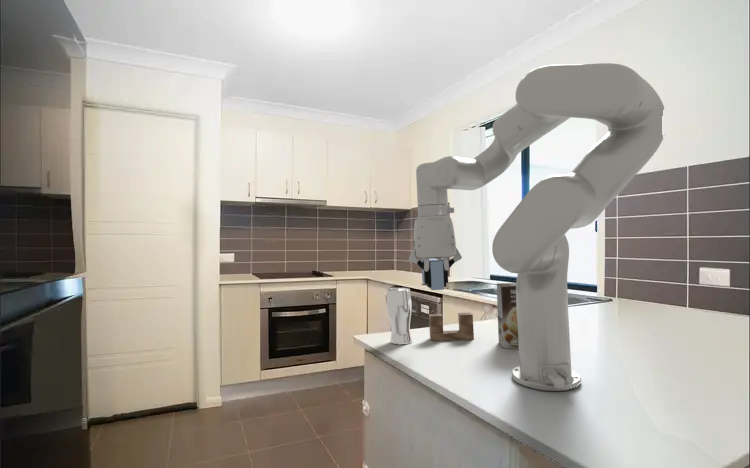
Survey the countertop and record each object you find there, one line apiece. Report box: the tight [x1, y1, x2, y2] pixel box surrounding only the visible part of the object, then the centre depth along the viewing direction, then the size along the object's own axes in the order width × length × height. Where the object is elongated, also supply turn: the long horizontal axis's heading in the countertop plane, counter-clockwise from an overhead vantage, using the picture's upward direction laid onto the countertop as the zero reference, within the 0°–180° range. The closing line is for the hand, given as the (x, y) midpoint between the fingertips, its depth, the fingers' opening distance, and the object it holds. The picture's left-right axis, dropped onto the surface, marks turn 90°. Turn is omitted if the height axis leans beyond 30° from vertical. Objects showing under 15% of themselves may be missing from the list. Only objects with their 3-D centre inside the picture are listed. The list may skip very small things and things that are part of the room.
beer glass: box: [386, 287, 413, 346], centre depth 111 cm, size 7×7×15 cm
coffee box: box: [496, 282, 519, 350], centre depth 102 cm, size 9×6×16 cm
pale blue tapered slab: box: [420, 258, 445, 291], centre depth 103 cm, size 16×3×7 cm, turn 1°
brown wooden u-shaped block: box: [428, 311, 475, 342], centre depth 111 cm, size 12×3×7 cm, turn 89°
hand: (436, 285), depth 97 cm, fingers closed on pale blue tapered slab, 3 cm apart
